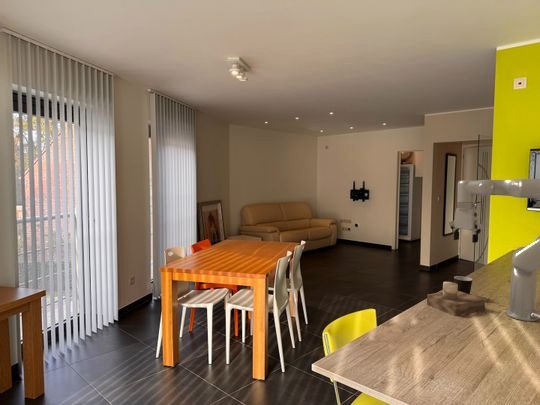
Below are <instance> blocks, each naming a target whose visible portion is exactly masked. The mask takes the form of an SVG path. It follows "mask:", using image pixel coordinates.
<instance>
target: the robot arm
mask: <svg viewBox="0 0 540 405" xmlns="http://www.w3.org/2000/svg"><path fill="white" fill-rule="evenodd" d="M476 196H480V197H481V196H483V197H486V196H504V197H505V196H506V197H507V196H508V197H512V198H513V197H514V198H519V199H520V198H521V199H540V178H515V179H480V180H473V179H472V180H470V179H469V180H468V179H467V180H465V179H464V180H463V179H462V180H458V182H457V204H456V205H457V208H455V212H454V220H451V221H449V222H448V223H449V224H448V225H449V226H450V229H451V231H452V232H453V240H454V241H458V240H460V230H467V231H471V232H472V236H471V237H472V240H471V242H472V243H473V244H476V243H478V242H479V235H480V233H481V232H483V229H484V228H485V225H484V224H482V223H480V222H479V214H478V210H477V208H476V207H478V204H477V203H476ZM511 255H512V256H511V273H510V274H511V275H510V278H511V279H510V289H509V290H510V292H509V294H510V295H509V308H508V309H505V311H504V314H505V315H506V316H507V317H510V318H512V319H516V320H519V321H523V322H524V321H525V322H536V321H538V320H540V313H539V312H538V308H536V300H537V299H536V298H537V283H538V269H540V235H538V236H537V237H536V238H535V240H534V241H533V242H531V243H529V244H528V245H525V246H521V247H518V248H516V249H515V250H514V251H513V253H512V254H511Z"/></svg>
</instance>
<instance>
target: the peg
mask: <svg viewBox="0 0 540 405" xmlns="http://www.w3.org/2000/svg"><path fill="white" fill-rule="evenodd" d="M457 289H458V284H456V283H454V281H453V282H452V281H443V283H442V292H443V296H442V297H443V298H444V299H447V300H457Z"/></svg>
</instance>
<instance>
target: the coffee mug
mask: <svg viewBox="0 0 540 405" xmlns="http://www.w3.org/2000/svg"><path fill="white" fill-rule="evenodd" d="M453 283H456V284H458V289H457V290H458V291H461V292H464V293H467V294H470V295H471V292H472V286H473V278H471V277H467V276H462V275H460V276H459V275H456V276H454V277H453Z"/></svg>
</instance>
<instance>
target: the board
mask: <svg viewBox="0 0 540 405" xmlns="http://www.w3.org/2000/svg"><path fill="white" fill-rule="evenodd" d="M442 296H443V291H442V292H435V293H429V294H426V305H427V306H429V307H432V308H434V309H437V310H440V311H442V312H444V313H447V314H450V315H452V316H455V317H457V316H461V315H466V314H470V313H476V312H480V311H481V312H482V311H485V310H486V299H484V298H482V297H480V296H479V297H478V296H476V295H472V294H471V293H470V294H467V293H464V292H461V291H458V290H457V300H447V299H444V298H443V297H442Z"/></svg>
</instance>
